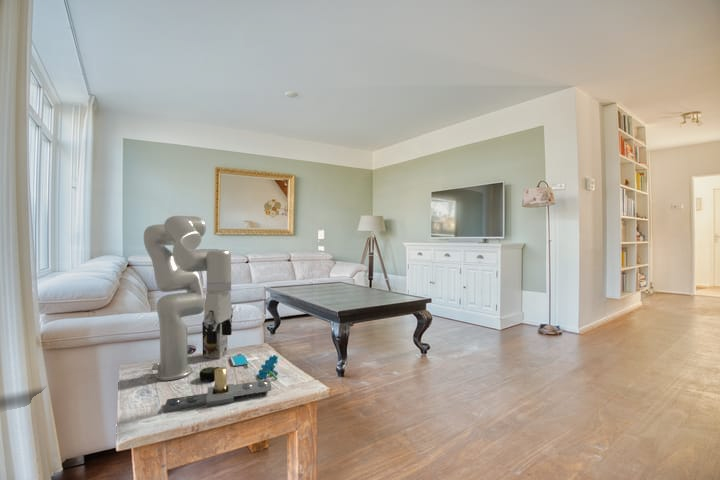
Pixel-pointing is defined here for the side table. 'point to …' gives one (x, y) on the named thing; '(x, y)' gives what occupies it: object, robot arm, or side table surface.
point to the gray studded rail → (218, 396)
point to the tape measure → (207, 374)
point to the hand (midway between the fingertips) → (219, 339)
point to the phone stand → (241, 360)
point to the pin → (220, 380)
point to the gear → (268, 368)
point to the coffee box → (215, 349)
